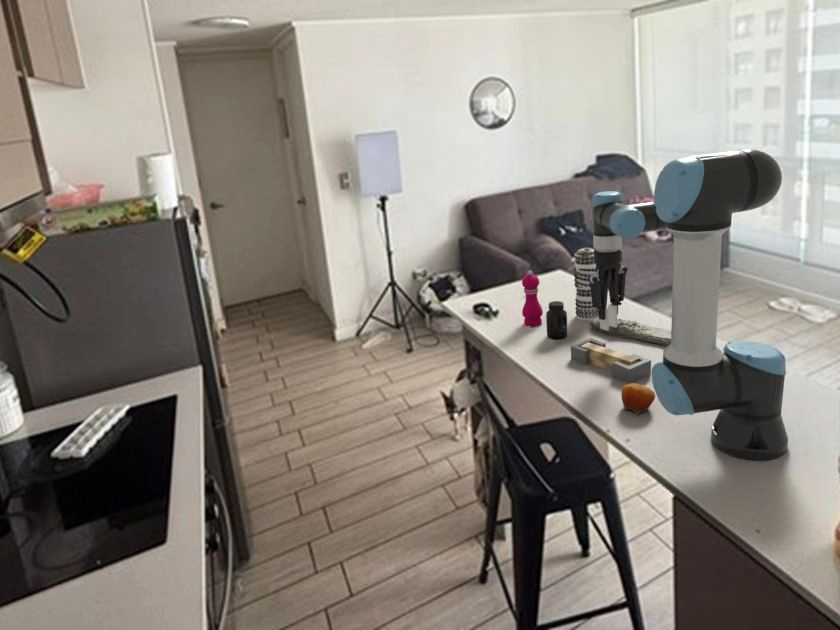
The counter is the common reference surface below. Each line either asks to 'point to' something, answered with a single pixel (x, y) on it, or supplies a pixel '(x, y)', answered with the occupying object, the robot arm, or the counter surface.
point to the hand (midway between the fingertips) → (608, 327)
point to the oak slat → (607, 356)
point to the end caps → (614, 363)
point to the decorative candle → (584, 284)
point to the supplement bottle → (556, 321)
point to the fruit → (637, 397)
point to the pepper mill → (531, 301)
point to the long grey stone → (636, 331)
